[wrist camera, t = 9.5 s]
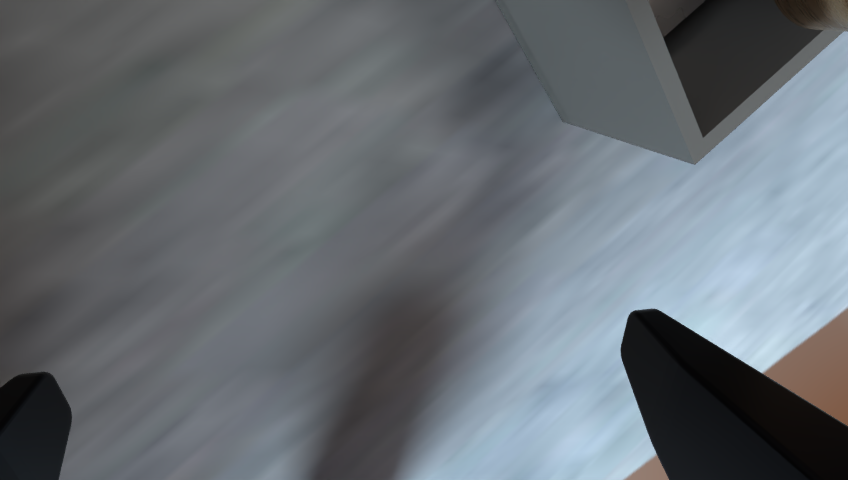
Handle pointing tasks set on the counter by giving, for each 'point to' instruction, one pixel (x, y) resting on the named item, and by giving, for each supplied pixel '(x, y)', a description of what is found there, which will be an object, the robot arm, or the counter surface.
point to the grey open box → (661, 66)
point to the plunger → (800, 3)
